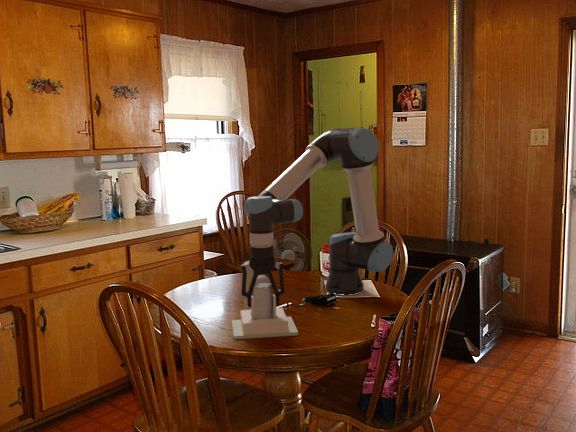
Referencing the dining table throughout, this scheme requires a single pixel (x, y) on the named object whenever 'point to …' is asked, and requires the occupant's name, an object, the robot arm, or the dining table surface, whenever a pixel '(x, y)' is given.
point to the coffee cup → (249, 277)
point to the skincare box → (263, 301)
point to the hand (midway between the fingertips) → (263, 315)
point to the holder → (263, 326)
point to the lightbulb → (261, 280)
